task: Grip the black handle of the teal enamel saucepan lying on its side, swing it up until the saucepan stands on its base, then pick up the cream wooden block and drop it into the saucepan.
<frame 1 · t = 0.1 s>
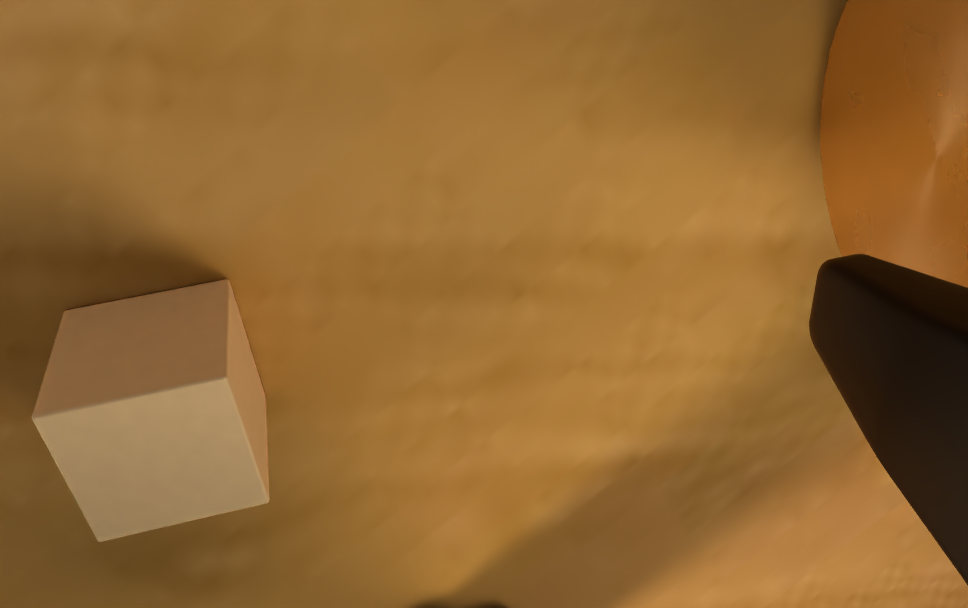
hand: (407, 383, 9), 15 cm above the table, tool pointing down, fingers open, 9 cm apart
block: (171, 356, 25), on the table
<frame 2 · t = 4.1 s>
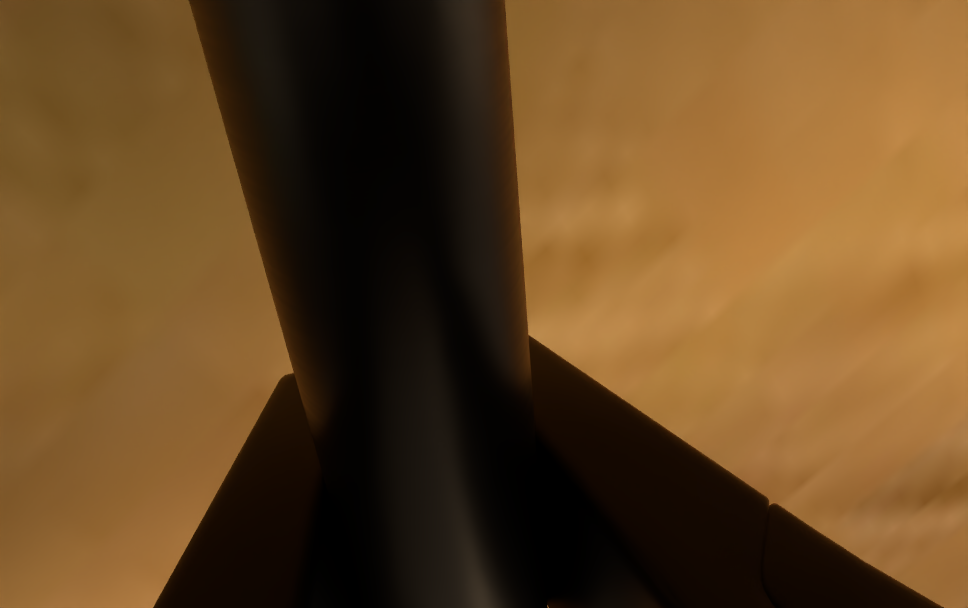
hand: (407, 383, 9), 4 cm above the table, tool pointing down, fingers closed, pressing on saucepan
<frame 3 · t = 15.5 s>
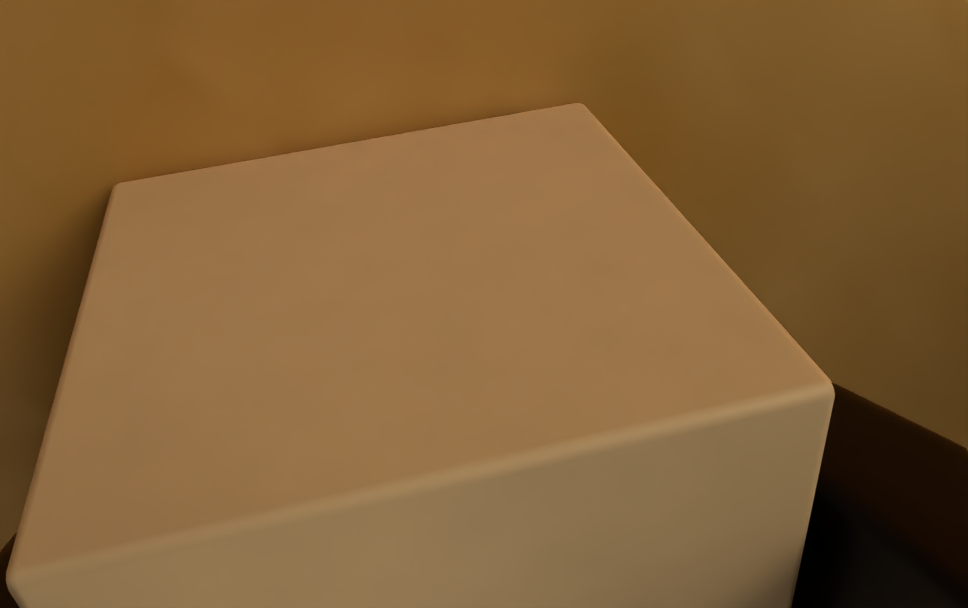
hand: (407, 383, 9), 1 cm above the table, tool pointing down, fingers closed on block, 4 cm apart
block: (391, 327, 9), on the table, touching gripper
when the fingers open (7 cm above the table, at t = 20.8 s): block stays where it is, resting on saucepan.
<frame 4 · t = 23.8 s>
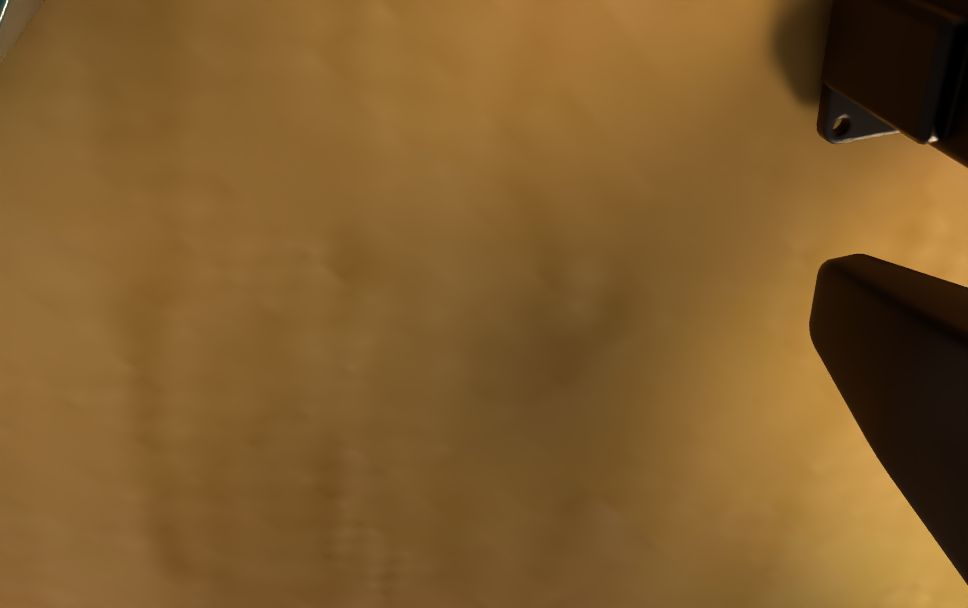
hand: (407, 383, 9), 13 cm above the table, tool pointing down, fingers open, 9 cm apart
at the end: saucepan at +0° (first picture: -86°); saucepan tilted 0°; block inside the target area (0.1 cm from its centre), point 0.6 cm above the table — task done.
